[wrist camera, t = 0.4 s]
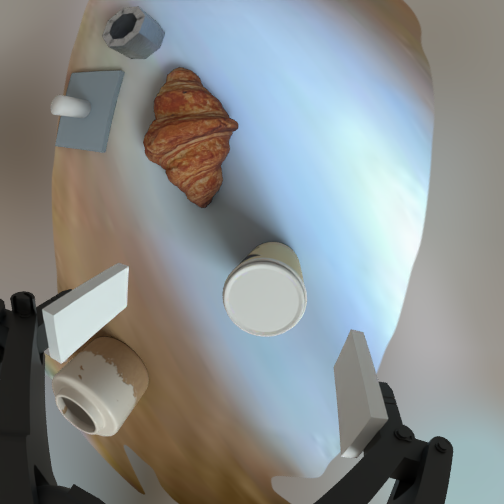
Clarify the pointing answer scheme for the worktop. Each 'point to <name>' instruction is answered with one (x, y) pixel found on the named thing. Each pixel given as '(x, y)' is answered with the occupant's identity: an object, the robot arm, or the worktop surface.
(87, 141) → the shaft block
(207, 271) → the worktop surface
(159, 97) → the pastry
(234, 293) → the coffee cup
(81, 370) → the vase
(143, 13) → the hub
